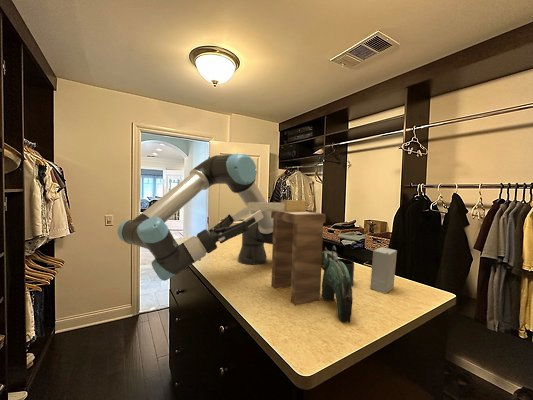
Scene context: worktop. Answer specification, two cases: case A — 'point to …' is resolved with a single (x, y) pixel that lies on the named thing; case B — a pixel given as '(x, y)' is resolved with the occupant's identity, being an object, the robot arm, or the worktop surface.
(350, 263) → the mug
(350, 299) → the dark green curved figure
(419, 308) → the worktop surface
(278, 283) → the walnut shelf
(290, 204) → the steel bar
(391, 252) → the skincare box
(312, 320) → the worktop surface
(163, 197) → the robot arm
